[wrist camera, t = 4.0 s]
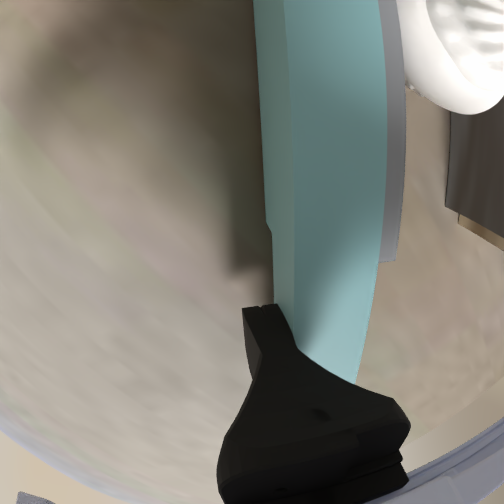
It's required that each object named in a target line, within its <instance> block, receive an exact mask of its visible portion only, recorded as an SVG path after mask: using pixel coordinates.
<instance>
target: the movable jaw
mask: <svg viewBox="0 0 504 504" xmlns="http://www.w3.org/2000/svg"><path fill="white" fill-rule="evenodd" d="M253 7H254V21H255V35H256V50H257V65H258V81H259V98H260V115H261V132H262V151H263V170H264V191H265V212H266V223H267V225H268V227H269V228H270V230H271V232H272V247H273V280H274V304H276V303H277V304H278V306H279V307H280V309H281V310H282V312H283V314H284V316H285V318H286V320H287V322H288V324H289V326H290V329H291V331H292V333H293V336H294V339H295V342H296V345H297V348H298V349H299V350H300V351H301V352H303V353H304V354H305V355H306V356H308V357H309V358H310V359H312V360H313V361H314V362H316V363H317V364H319V365H320V366H322V367H323V368H325V369H326V370H328V371H329V372H331V373H333V374H335V375H337V376H339V377H340V378H342V379H344V380H346V381H348V382H350V383H352V384H355V381H356V377H357V373H358V369H359V365H360V360H361V356H362V352H363V347H364V342H365V338H366V333H367V328H368V323H369V317H370V312H371V307H372V301H373V295H374V289H375V282H376V276H377V268H378V263H382V262H389V261H395V260H396V253H397V246H398V238H399V230H400V222H401V212H402V202H403V190H404V175H405V154H406V93H405V73H404V59H403V48H402V39H401V30H400V22H399V15H398V9H397V3H396V0H253Z"/></svg>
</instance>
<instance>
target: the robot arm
mask: <svg viewBox="0 0 504 504" xmlns="http://www.w3.org/2000/svg"><path fill="white" fill-rule="evenodd" d="M242 316H243V326H244V337H245V347H246V353H247V359H248V364H249V369H250V373H251V376H252V379H253V380H252V383H251V386H250V389H249V391H248V394H247V396H246V398H245V400H244V402H243V405H242V407H241V409H240V411H239V413H238V415H237V417H236V418H235V420H234V422H233V423H232V425H231V427H230V428H229V430H228V432H227V433H226V435H225V437H224V441H223V444H222V447H221V451H220V455H219V459H218V464H217V475H216V476H217V484H218V491H219V493H220V496H221V498H222V500H223V502H224V504H477V503H478V502H480V501H481V500H482V499H483V498H485V497H486V496H488V495H489V494H490V493H491V492H493V491H494V490H495V489H497V488H498V487H499V486H500V485H502V484H503V483H504V417H503V418H502V419H500V420H499V421H497V422H496V423H494V424H493V425H492V426H490V427H489V428H487V429H486V430H484V431H483V432H481V433H480V434H478V435H477V436H475V437H473V438H472V439H471V440H469V441H467V442H465V443H464V444H462V445H460V446H459V447H457V448H455V449H454V450H452V451H450V452H448V453H446V454H445V455H443V456H441V457H439V458H437V459H435V460H433V461H431V462H429V463H428V464H426V465H423V466H421V467H419V468H417V469H415V470H413V471H411V472H409V473H406V472H405V471H404V469H403V467H402V465H401V463H400V462H401V461H402V460H403V458H402V455H401V453H400V451H399V448H400V447H401V445H402V444H403V442H404V440H405V439H406V437H407V436H408V433H409V431H410V428H411V424H410V421H409V420H408V418H407V416H406V415H405V413H404V412H403V410H402V409H401V407H400V406H399V405H398V404H397V403H396V401H395V400H394V399H393V398H390V397H387V396H384V395H381V394H378V393H375V392H372V391H369V390H366V389H364V388H361V387H359V386H357V385H355V384H352V383H350V382H348V381H346V380H344V379H342V378H340V377H339V376H337V375H335V374H333V373H331V372H329V371H328V370H326V369H325V368H323V367H322V366H320V365H319V364H317V363H316V362H314V361H313V360H312V359H310V358H309V357H308V356H306V355H305V354H304V353H303V352H301V351H300V350H299V349H298V348H297V345H296V342H295V339H294V336H293V333H292V331H291V329H290V326H289V324H288V322H287V320H286V318H285V316H284V314H283V312H282V310H281V309H280V307H279V306H278V304H277V303H276V304H269V305H263V306H262V307H261V308H260V307H259V306H254V307H247V308H242ZM16 504H55V503H53V502H51V501H49V500H47V499H44V498H41V497H37V496H34V495H30V494H27V493H24V492H18V497H17V502H16Z"/></svg>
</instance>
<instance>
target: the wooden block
mask: <svg viewBox="0 0 504 504" xmlns="http://www.w3.org/2000/svg"><path fill="white" fill-rule="evenodd" d="M445 207H447V208H449V209H451V210H453V211H455V212H457V213H459V214H460V216H459V222H458V224H459V225H461V226H463V227H465V228H466V229H468V230H470V231H472V232H473V233H475V234H477V235H478V236H480V237H482V238H483V239H485V240H487V241H488V242H490V243H491V244H493V245H495V246H496V247H498V248H499V249H501V250H503V251H504V96H503V97H502V99H501V100H500V101H499V102H498V103H497V104H496V105H494V106H493V107H492V108H490V109H488V110H486V111H484V112H481V113H477V114H460V113H456V112H452V111H451V141H450V161H449V174H448V185H447V195H446V203H445Z"/></svg>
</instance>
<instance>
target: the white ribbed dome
mask: <svg viewBox="0 0 504 504" xmlns="http://www.w3.org/2000/svg"><path fill="white" fill-rule="evenodd" d="M396 3H397V9H398V15H399V22H400V30H401V39H402V48H403V59H404V73H405V85H406V86H407V87H408V88H409V89H412V90H413V91H415V92H416V93H417V94H418V95H419V96H421V97H424V96H425V97H426V98H427V99H429V100H430V101H432V102H433V103H435V104H437V105H438V106H440V107H442V108H445V109H447V110H450V111H452V112H456V113H460V114H477V113H481V112H484V111H486V110H488V109H490V108H492V107H493V106H494V105H496V104H497V103H498V102H499V101H500V100H501V99H502V97H503V96H504V0H396Z"/></svg>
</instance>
